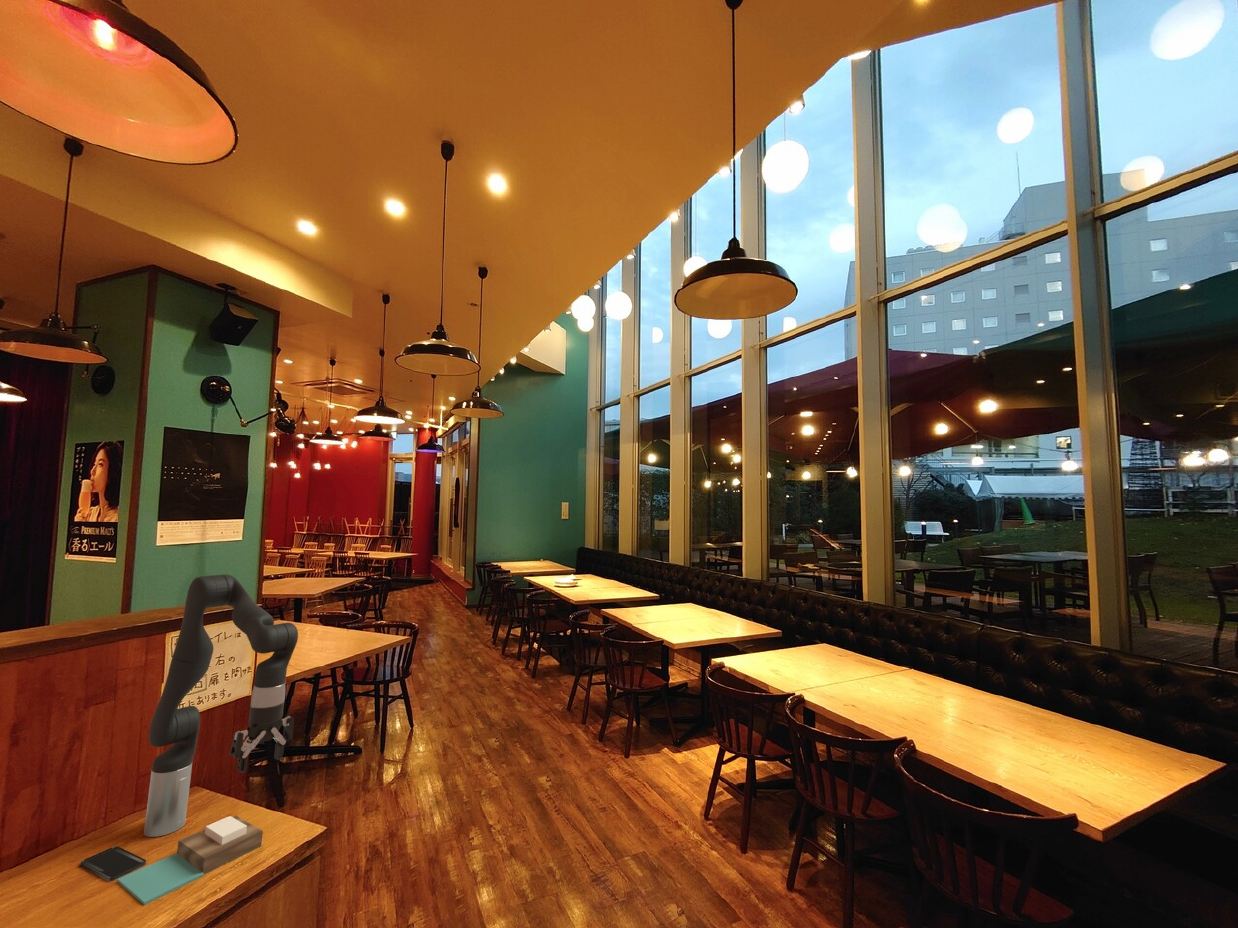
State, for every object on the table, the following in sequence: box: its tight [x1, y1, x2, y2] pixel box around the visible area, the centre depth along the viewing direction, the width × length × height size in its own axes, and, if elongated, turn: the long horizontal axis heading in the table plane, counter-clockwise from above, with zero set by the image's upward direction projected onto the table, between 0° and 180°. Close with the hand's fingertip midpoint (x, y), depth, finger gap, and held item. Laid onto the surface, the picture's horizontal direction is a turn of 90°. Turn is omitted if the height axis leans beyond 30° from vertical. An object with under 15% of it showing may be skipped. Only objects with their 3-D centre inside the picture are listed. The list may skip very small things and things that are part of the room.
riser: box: [176, 815, 264, 875], centre depth 144 cm, size 14×14×4 cm
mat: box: [117, 853, 205, 906], centre depth 132 cm, size 15×12×1 cm
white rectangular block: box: [205, 815, 247, 845], centre depth 145 cm, size 9×6×2 cm, turn 62°
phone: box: [79, 845, 147, 882], centre depth 137 cm, size 8×1×15 cm
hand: (260, 765), depth 138 cm, fingers open, 8 cm apart
